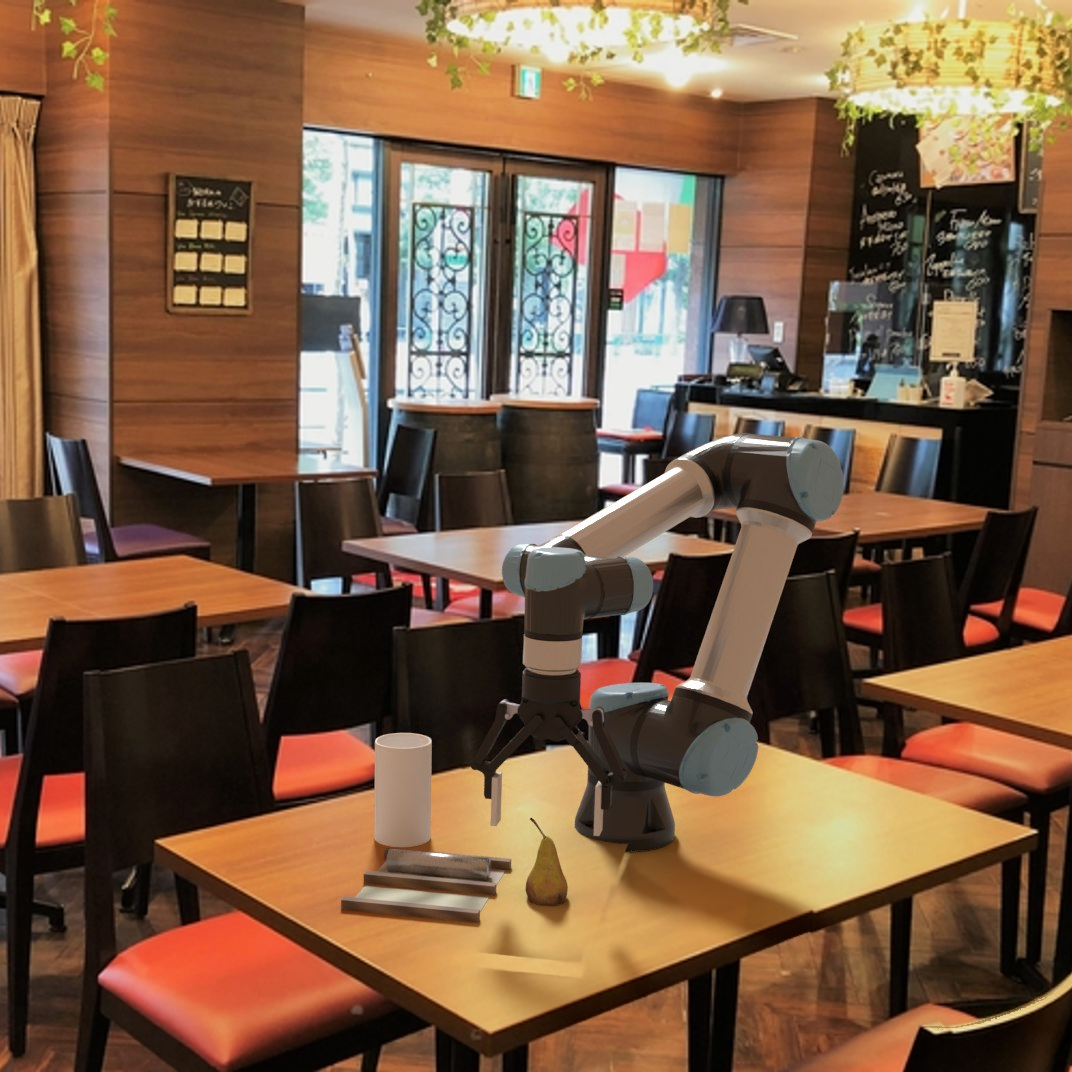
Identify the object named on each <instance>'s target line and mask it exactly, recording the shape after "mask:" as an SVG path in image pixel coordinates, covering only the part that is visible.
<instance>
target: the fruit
mask: <svg viewBox="0 0 1072 1072" xmlns="http://www.w3.org/2000/svg"><path fill="white" fill-rule="evenodd" d="M529 820H530V822H532V823H533V824H534V826H535V827H536V828H537V829H538V831H539V832H540V834H541V836H542V839H541V841H540V843H539V846H538V849H537V854H536V859H535V863H534V865H533V867H532V869H531V871H530V873H529V874H528V876H527V879H526V883H525V892H526V893H525V894H526V896H527V899H528V900H529V902H530V903H531V904H533V905H537V906H543V907H544V906H545V907H547V906H549V907H555V906H559V905H562V904H563V903H564V902H565V901H566V899H567V898H568V897H567V896H568V890H569V889H568V882H567V879H566V876H565V874H564V872H563V869H562V866H561V863H560V858H559V856H558V850H557V848H556V845H555V843H554V840H553V839H552V838H551V837H550V836H547V835H546V834H544V832H543V830H541V828H540V826H539V825H538V823H537V822H536V820H535V819H533V817H530V818H529Z"/></svg>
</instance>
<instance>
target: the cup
mask: <svg viewBox="0 0 1072 1072" xmlns="http://www.w3.org/2000/svg"><path fill="white" fill-rule="evenodd" d="M432 744H433V743H432V738H431V737H429V736H428V735H423V734H420V733H412V732H396V733H387V734H383V735H380V736H378V737H377V738H375V741H374V822H373V823H374V824H373V825H374V828H373V829H374V837H373V838H374V840H375V842H377V843H378V844H380V845H382V846H385V847H386V846H387V847H390V848H411V847H417V846H421V845H424V844H426V843H428V842H429V841H430V840H431V838H432V837H431V836H432V830H431V827H432V758H433V757H432V751H433V750H432V747H433V745H432Z"/></svg>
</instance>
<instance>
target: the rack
mask: <svg viewBox="0 0 1072 1072" xmlns="http://www.w3.org/2000/svg"><path fill="white" fill-rule="evenodd" d="M389 849H398V847H385V848H384V850H383V851H384V852H383V855H384V856H383V859H384V862H383V864H382V865H381V866H380V867H379V869H378V870H376V871H372V870H366V871H365V872H364V873H363V884H365V885H364V886H363V887H362V888H361V890H360V891H359V892H358V893H357V894H356V895H355V896H354V897H353V896H352V897H351V896H343V897H342V898H341V900H340V901H341V902H340V907H341V908H340V910H342V911H343V910H344V911H354V912H365V913H373V914H375V913H376V914H383V915H384V914H385V915H395V916H405V917H413V918H414V917H415V918H424V919H435V920H444V921H445V920H446V921H456V922H464V923H475V924H478V923H479V922H480V918H481V912H482V910H483V908H484V907H485V905H486V903H487V902H488V900H489V899H490V897H489V896H495V895H496V894H497V885H498V884H499V882H500V881H501V879H502V878H503V876H504V874H505V872H506V871H510V870H511V869H512V858H507V857H495V856H485V855H471V854H463V853H462V854H461V853H451V852H450V853H449V852H443V853H444V854H455V855H466V856H477V857H488V858H490V859H491V873H490V877H489V879H488V880H480V879H469V878H459V877H448V876H437V875H427V874H416V873H405V872H395V871H388V870H387V867H386V860H387V854H388V851H389ZM399 849H400V850H409V849H406V848H399ZM410 850H411V851H420V850H418V849H410ZM421 851H422V852H431V851H429V850H428V851H427V850H421ZM432 852H433V853H442V852H441V851H432ZM366 884H369V885H366ZM374 885H375V886H374ZM376 885H378V886H376ZM379 885H381V886H379ZM385 886H391V887H385ZM396 887H400V888H396ZM401 887H402V888H401ZM407 888H411V889H407ZM416 889H417V890H416ZM418 889H422V890H418ZM428 890H431V891H428ZM432 890H433V891H432ZM440 891H443V892H440ZM449 892H452V893H449ZM453 892H455V893H453ZM459 893H464V894H459ZM470 894H471V895H470ZM472 894H474V895H472ZM479 895H482V896H479ZM483 895H485V896H483Z"/></svg>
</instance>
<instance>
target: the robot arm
mask: <svg viewBox="0 0 1072 1072" xmlns="http://www.w3.org/2000/svg"><path fill="white" fill-rule="evenodd" d="M841 467H842V466H841V462H840V459H839V457H838V456H837V454H836V452H835V451H834V449H833V448H832V447H831V446H830V445H828V443H825V442H824V441H821V440H818V439H817V440H816V439H812V438H810V439H809V438H806V437H804V436H795V437H793V436H781V435H768V434H759V433H757V434H756V433H750V432H749V433H748V432H743V433H742V432H741V433H733V434H729V435H726V436H722V437H720V438H717V439H713V440H711V441H709V442H706V443H704V444H702V445H700V446H698V447H695V448H694V449H692V450H689V451H688V452H685V453H684V454H682V455H681V456H679V457H677V458H674V459H673V460H671V462H669V463H668V464H667V466H666V468H665V471H664V473H663V474H661V475H660V476H657V477H656V478H654V479H653V480H651V481H649V482H647V483H645V484H644V485H641V486H640V487H639V488H637V489H635V490H633V491H632V492H630V493H628V494H627V495H625V496H623V497H621V498H620V499H618V500H617V501H614V502H613V503H612V504H611V503H610V505H607V506H606V507H604V508H602V509H601V510H599V511H597V512H595V513H594V514H592V515H591V516H589V517H587V518H585V519H584V520H581V521H580V522H578V523H576V524H575V525H574V526H571V527H570V528H568V529H566V530H564V531H563V532H561V533H560V534H558V535H556V536H555V537H552V538H551V539H549V540H547V541H545V542H544V543H542V544H535V543H533V542H532V543H520V544H516V545H515V546H513V547H512V548H510V549H509V551H508V552H507V553H506V554H505V556H504V559H503V560H502V565H501V577H502V581H503V584H504V586H505V588H506V589H507V590H508V591H509V592H510V593H511V594H513V595H515V596H519V597H522V598H524V630H523V631H524V634H523V650H522V664H523V665H524V666H525V668H524V670H523V671H522V679H521V680H522V682H521V684H522V686H521V701H520V704H519V703H514V702H511V701H510V700H508V699H507V698H505V699H502V700H501V701H500V702H499V703H498V704H497V707H496V711H495V718H494V721H493V722H492V724H491V726H490V728H489V730H488V732H487V734H486V736H485V737H484V739H483V741H482V742H481V745H480V746H479V748H478V750H477V752H476V753H475V755H474V757H473V759H472V760H471V762H470V768H471V770H473V771H479V772H480V773H482V774H483V776H484V782H483V786H484V787H483V796H484V798H485V800H490V801H491V802H490V826H493V827H497V826H498V824H499V823H500V822H501V820H502V819H501V818H502V791H503V790H502V788H503V785H502V784H503V772H501V771H497V770H498V769H499V768H500V767H501V766H502V765H503V764H504V763H505V761H506V760H507V759H508V758H509V757H510V756H511V755H512V754H514V752H516V750H517V749H519V747H520V746H521V745H522V744H523V743H524V742H525V741H526V740H527V739H528V738H529V736H530V735H531V736H532V737H533V738H535V739H536V741H537V740H538V741H543V740H550V741H553V742H561V741H563V740H566V741H567V743H568V744H569V745H570V746H571V747H572V748H573V749H574V751H575V752H576V753H577V754H578V756H580V758H581V759H582V760H583V762H584V763H585V764H586V766H587V781H586V787H585V789H584V792H583V796H582V798H581V801H580V804H579V806H578V809H577V812H576V815H575V818H574V829H575V830H576V831H577V832H578V833H579V834H581V835H583V836H585V837H587V838H590V839H592V840H595V841H600V842H605V843H611V844H619V845H626V847H625V849H624V852H645V851H651V850H652V851H653V850H656V849H660V848H664V847H665V846H668V845H670V844H671V843H672V842H673V841H674V840H675V837H676V836H675V835H676V823H675V819H674V818H675V817H674V815H673V812H672V808H671V804H670V800H669V798H668V795H667V794H668V793H667V791H666V786H665V784H668V785H671V786H674V787H677V788H680V789H682V790H684V791H687V792H690V793H691V794H695V795H699V794H700V795H704V796H709V797H713V798H714V797H715V798H717V797H722V796H726V795H728V794H730V793H732V791H733V790H736V789H737V788H739V787H741V786H742V784H743V783H744V782H745V780H747V778H748V777H749V776H750V774H751V772H752V770H753V768H754V766H755V763H756V761H757V756H758V751H759V744H758V743H757V741H758V740H759V737H758V733H757V731H756V729H755V727H754V726H753V725H752V724H751V720H752V717H753V713H754V712H753V710H752V708H751V706H750V704H749V702H748V695H749V691H750V690H751V687H752V683H753V681H754V677H755V674H756V671H757V668H758V665H759V662H760V659H761V657H762V653H763V650H764V646H765V644H766V641H767V638H768V635H769V632H770V630H771V626H772V623H773V620H774V617H775V614H776V611H777V609H778V605H779V603H780V600H781V599H780V598H781V597H782V593H783V590H784V587H785V584H786V580H787V578H788V575H789V573H790V569H791V566H792V564H793V563H792V562H793V561H794V560H793V559H794V557H795V554H796V551H797V548H798V546H799V544H802V543H803V542H805V541H807V540H809V539H811V538H812V536H813V533H814V529H815V528H816V525H817V522H820V523H821V522H824V521H826V520H829V519H830V518H832V516H833V515H835V514H836V513H837V511H838V510H839V508H840V506H841V503H842V499H843V494H844V487H845V486H844V473H843V469H842V468H841ZM727 509H732V510H733V509H735V515H736V517H737V519H738V521H739V523H740V527H741V528H740V530H739V533H738V536H737V539H736V542H735V545H734V548H733V551H732V555H731V557H730V560H729V562H728V566H727V568H726V570H725V571H726V572H725V574H724V577H723V580H722V582H721V583H722V584H721V586H720V589H719V592H718V593H717V594H718V595H717V598H716V601H715V604H714V607H713V609H712V612H711V616H710V619H709V621H708V624H707V627H706V630H705V634H704V636H703V638H702V642H701V645H700V647H699V650H698V654H697V656H696V660H695V662H694V665H693V668H692V672H691V674H690V677H689V678H687V680H685V681H683V682H681V683H679V684H677V685H676V686H675V688H674V691H673V694H672V697H671V700H669V696H670V693H669V690H668V687H667V686H666V685H665V684H662V683H658V682H657V683H656V682H628V683H627V682H625V683H617V684H616V683H615V684H610V685H606V686H601V687H599V688H597V689H596V690H594V691H593V693H592V694H591V696H590V698H589V699H590V700H589V709H583V707H582V705H581V685H582V684H581V681H582V680H581V679H582V672H580V669H579V668H580V667H582V656H583V653H582V652H583V632H584V631H583V629H584V620H589V619H590V620H591V619H597V618H604V617H612V616H620V615H621V616H626V615H628V614H632V613H635V612H639V611H641V610H643V609H644V608H645V607H647V605H649V603H650V602H651V599H652V597H653V592H654V590H653V589H654V579H653V575H652V572H651V570H650V568H649V567H648V566H647V564H646V563H645V562H644V561H643V560H641V559H640V558H638V557H633V556H631V557H630V556H629V557H627V556H628V555H630V554H631V553H633V552H634V551H636V550H638V549H639V548H641V547H643V546H644V545H646V544H648V543H649V542H650V541H652V540H654V539H656V538H658V537H659V536H661V535H663V534H664V533H665V532H667V531H669V530H671V529H672V528H674V527H676V526H677V525H678V524H680V523H682V522H684V521H685V520H687V519H689V518H696V519H697V518H702V517H705V516H706V515H708V514H710V513H712V512H713V511H718V510H727ZM515 714H517V715H518V717H519V718H520V720H521V722H522V724H524V726H523V727H522V728H521V729H520V730H519V731H518V732H517V733H516V734H515V736H514V737H513V738H512V739H511V740H510V741H509V742H508V743H507V744H506V745H505V746H504V747H503V748H502V749H501V751H499V753H498V754H497V755H496V756H495V757H494V758H493V759H492V760H491V761H488V760H486V759H487V757H488V756H489V754H490V751H491V749H492V748H493V746H494V745H495V743H496V741H497V739H498V737H499V735H500V733H501V732H502V730H503V729H504V727H505V724H506V723H507V721H508V720H511V719H512V718H513V717H514V715H515ZM583 719H584V720H585V721H586V722H587V739H586V738H585V737H584V734H583V733H582V731H581V730H580V728H579V727H578V725H579V723H580V722H581V721H582V720H583Z"/></svg>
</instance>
